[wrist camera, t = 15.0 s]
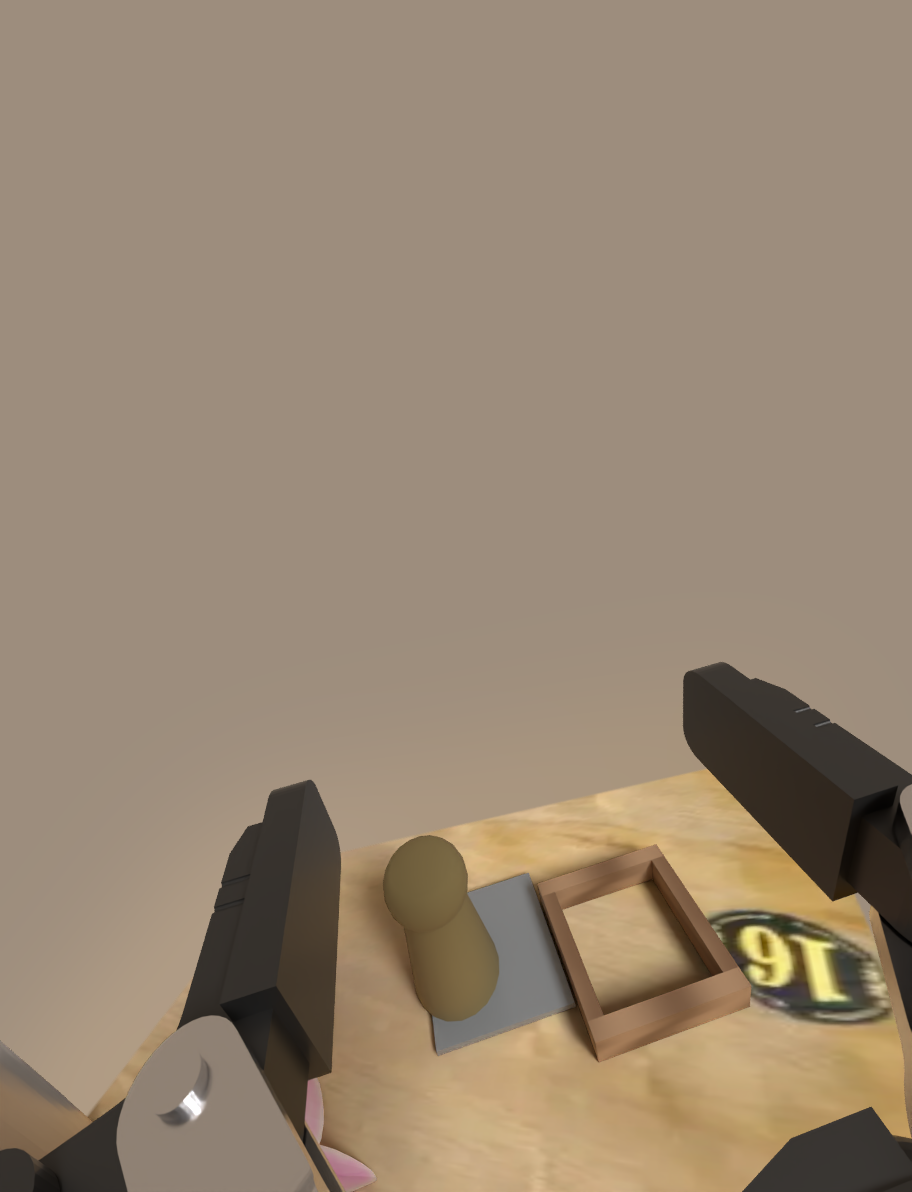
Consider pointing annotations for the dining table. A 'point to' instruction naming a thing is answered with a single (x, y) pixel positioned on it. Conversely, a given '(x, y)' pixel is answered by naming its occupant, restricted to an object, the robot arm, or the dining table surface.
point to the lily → (343, 1165)
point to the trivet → (512, 967)
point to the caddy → (665, 1010)
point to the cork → (441, 928)
